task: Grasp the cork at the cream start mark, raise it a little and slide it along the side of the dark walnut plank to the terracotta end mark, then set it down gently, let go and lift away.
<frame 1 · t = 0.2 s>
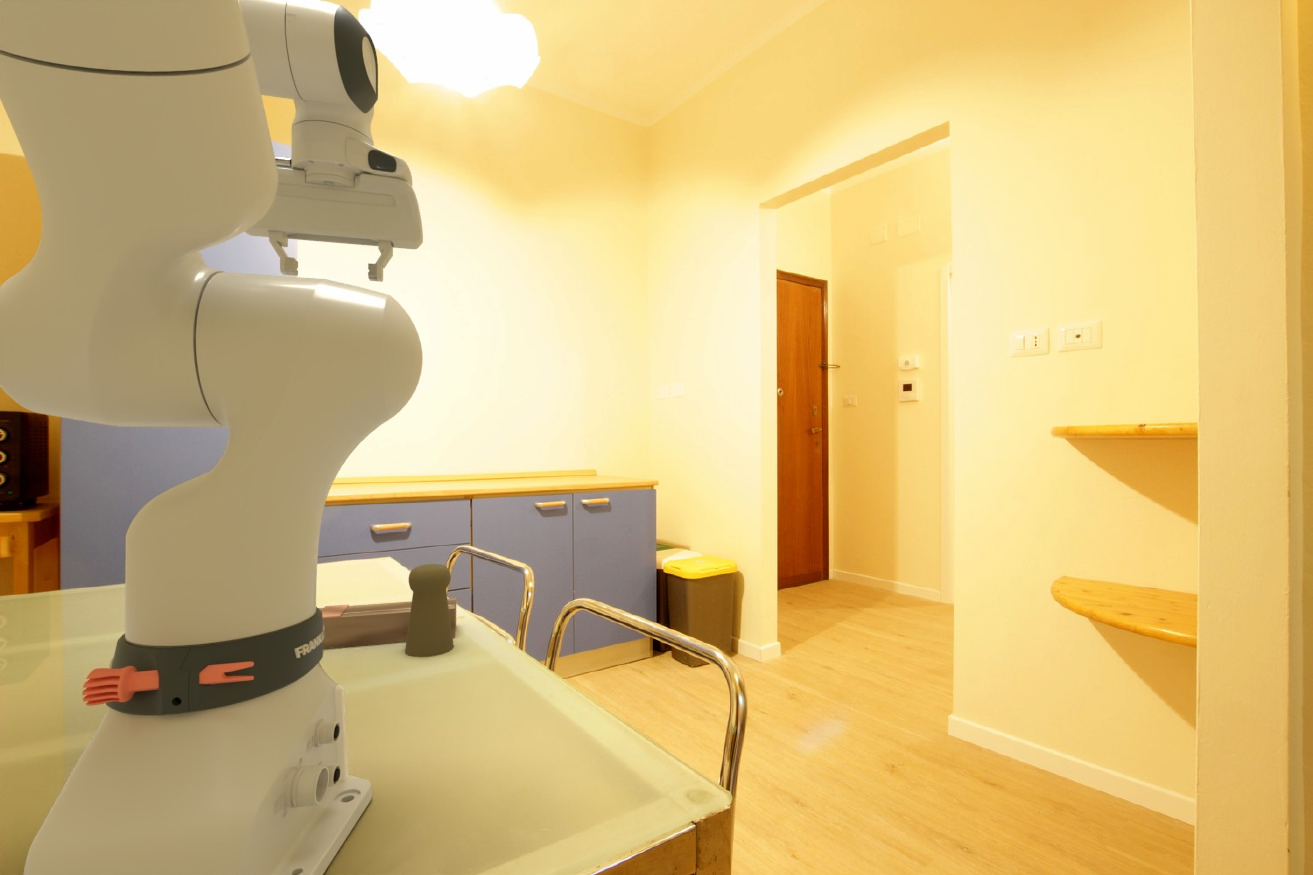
hand: (333, 277, 73), 47 cm above the table, fingers open, 8 cm apart
walnut plank: (380, 637, 84), on the table
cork: (429, 650, 79), on the table
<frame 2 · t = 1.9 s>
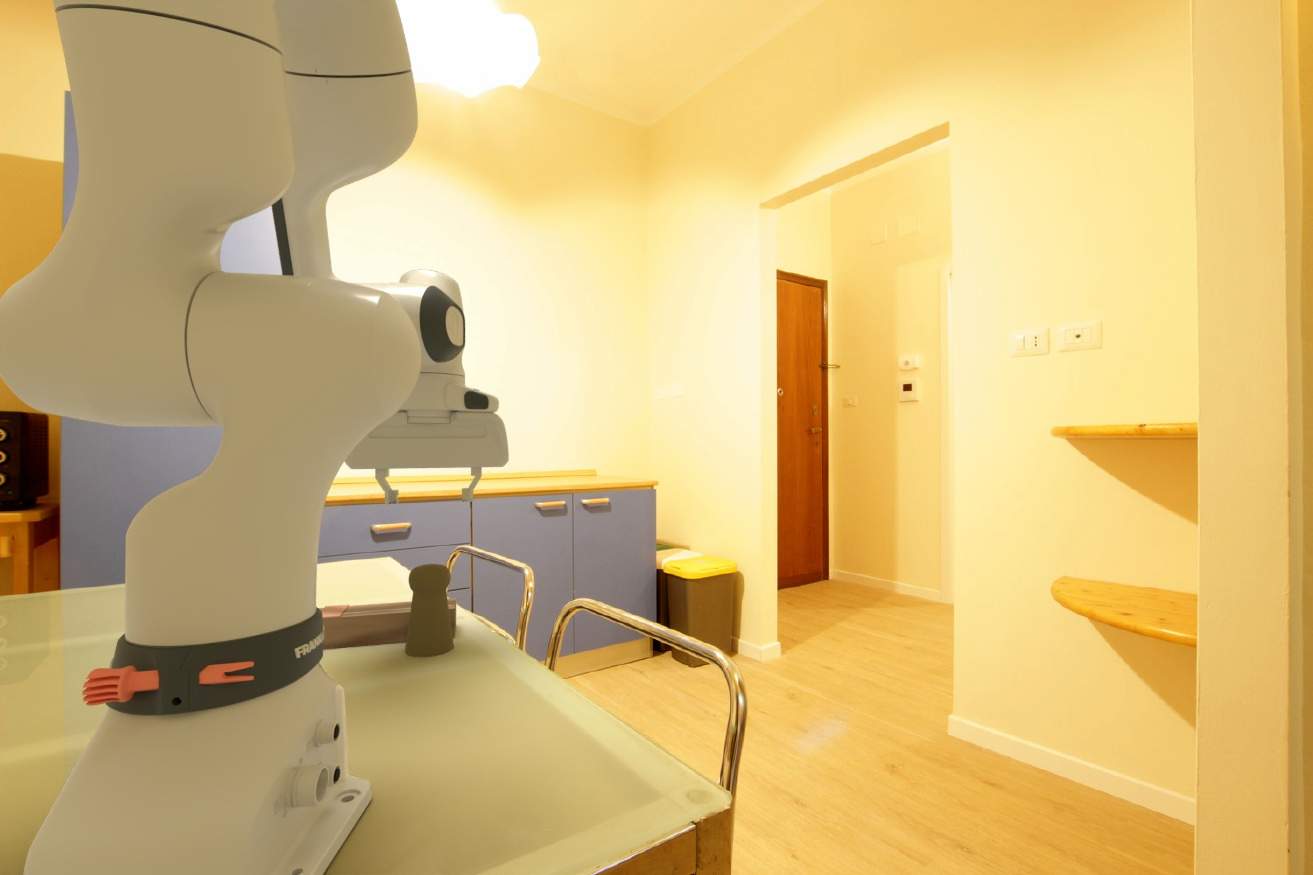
hand: (430, 502, 80), 19 cm above the table, fingers open, 8 cm apart
nothing on the table moved.
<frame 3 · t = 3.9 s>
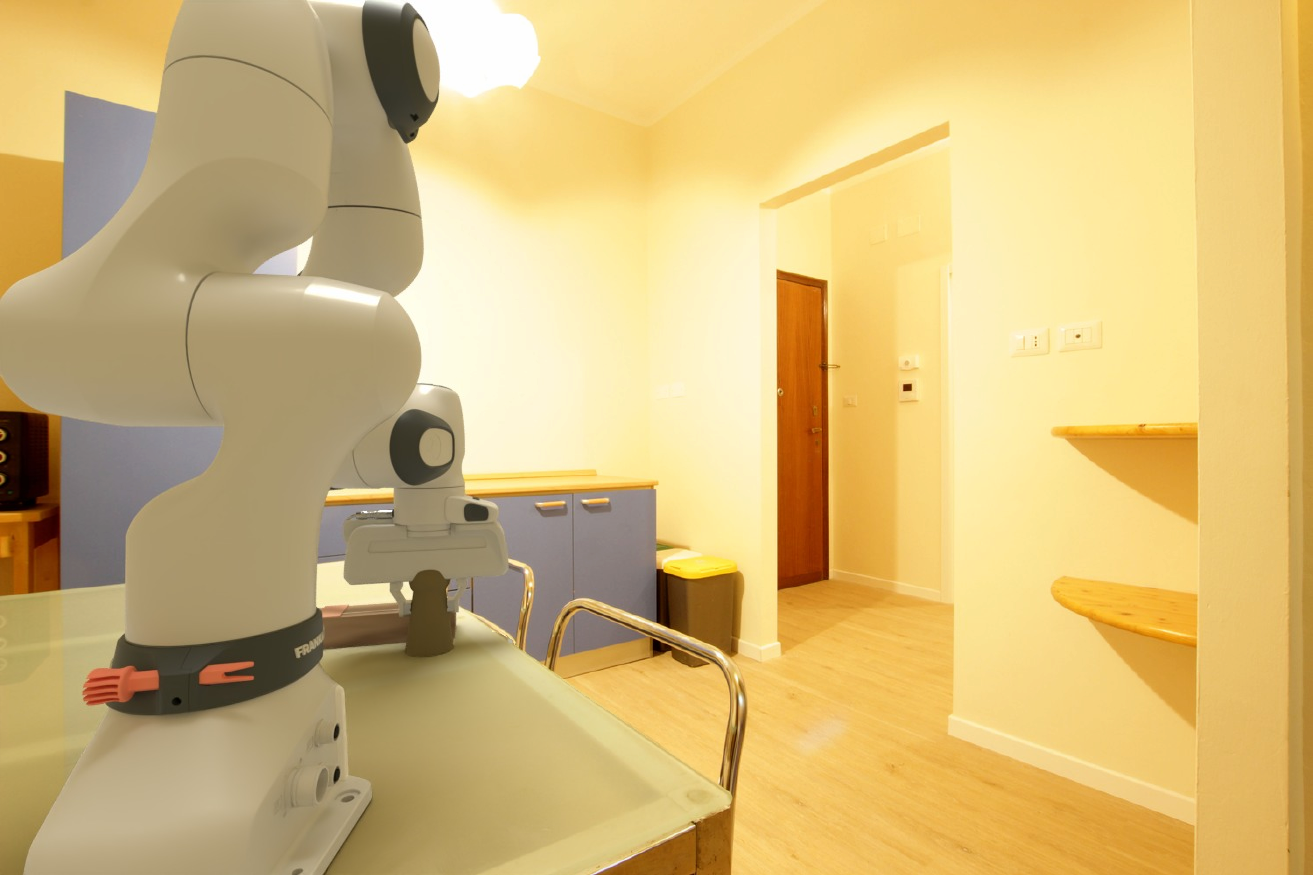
hand: (429, 613, 80), 5 cm above the table, fingers closed on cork, 4 cm apart
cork: (429, 650, 79), on the table, touching gripper
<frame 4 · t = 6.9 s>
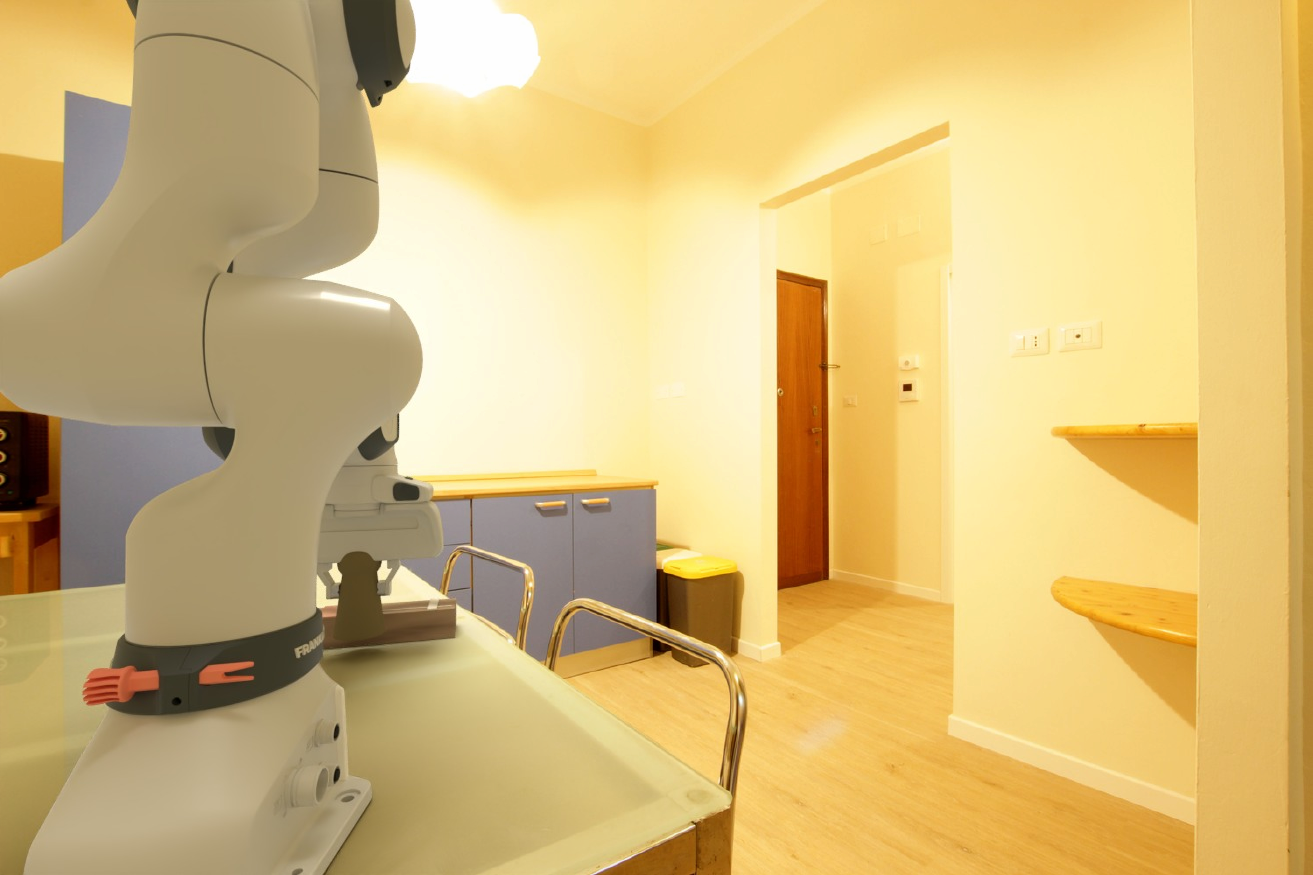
hand: (359, 596, 77), 7 cm above the table, fingers closed on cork, 4 cm apart
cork: (359, 634, 77), point 3 cm above the table, touching gripper
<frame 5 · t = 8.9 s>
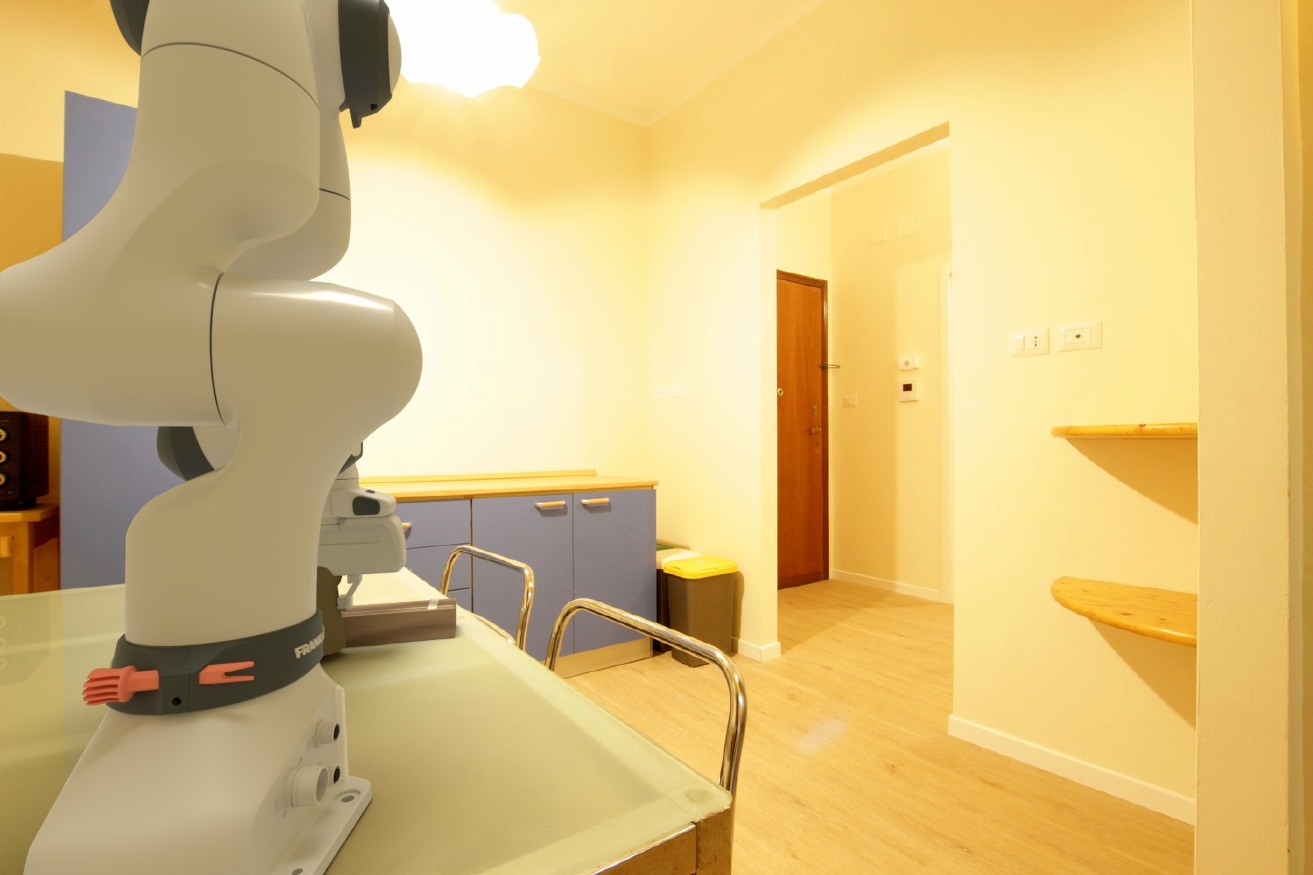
hand: (319, 611, 76), 6 cm above the table, fingers closed on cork, 4 cm apart
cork: (319, 650, 76), point 1 cm above the table, touching gripper
when the fingers open (5 cm above the table, at t = 10.4 s): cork stays where it is, on the table.
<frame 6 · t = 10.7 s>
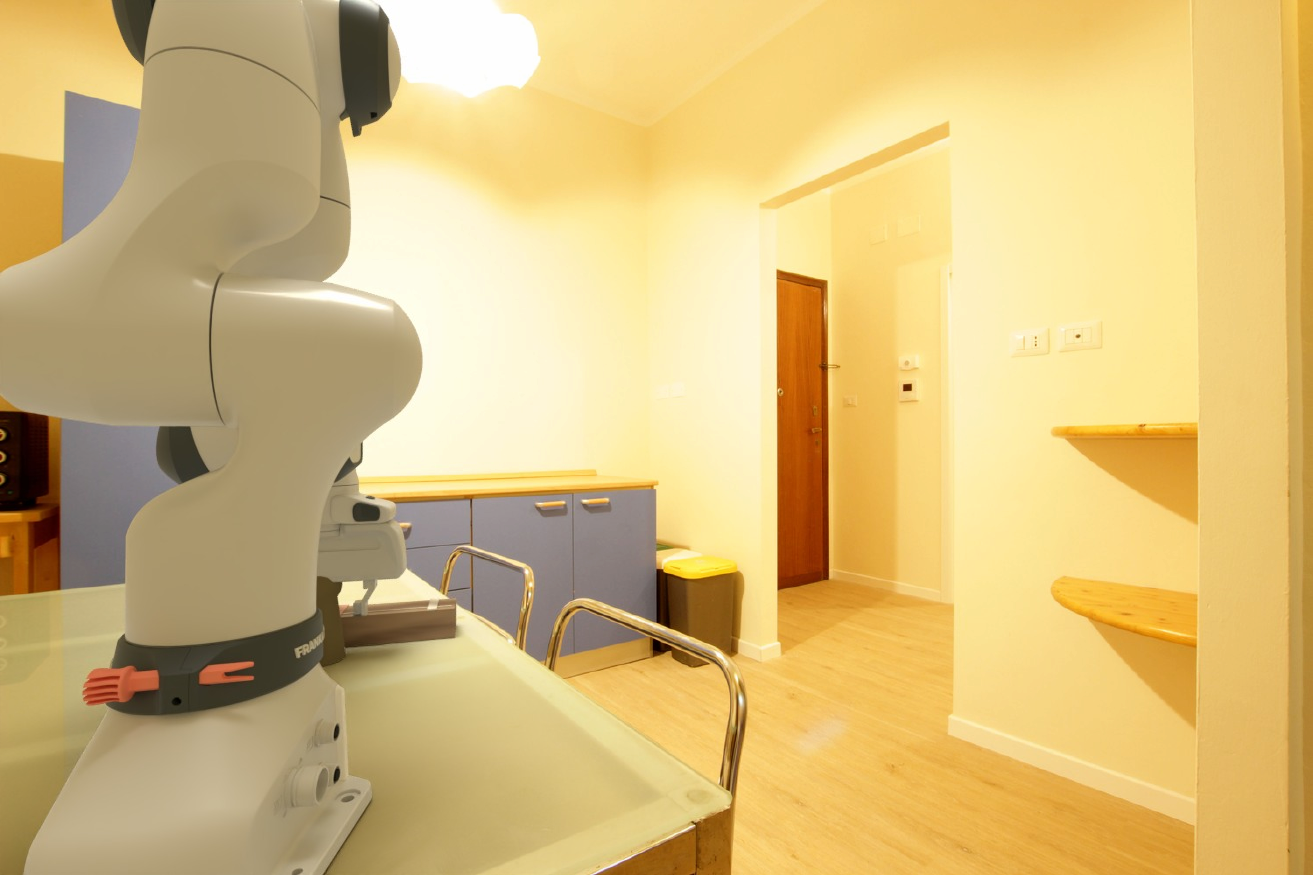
hand: (319, 618, 76), 5 cm above the table, fingers open, 8 cm apart
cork: (319, 660, 76), on the table
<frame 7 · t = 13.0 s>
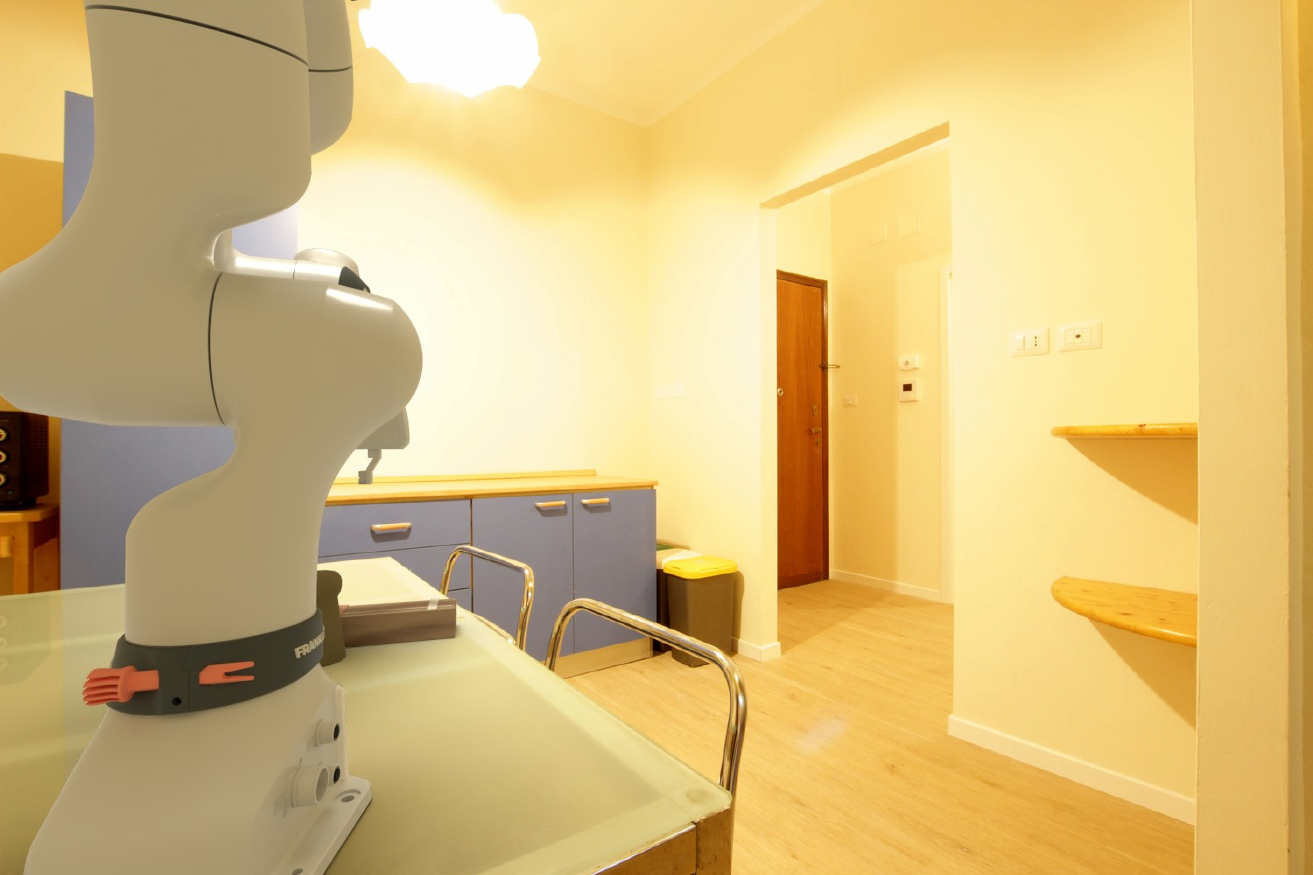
hand: (326, 485, 79), 22 cm above the table, fingers open, 8 cm apart
nothing on the table moved.
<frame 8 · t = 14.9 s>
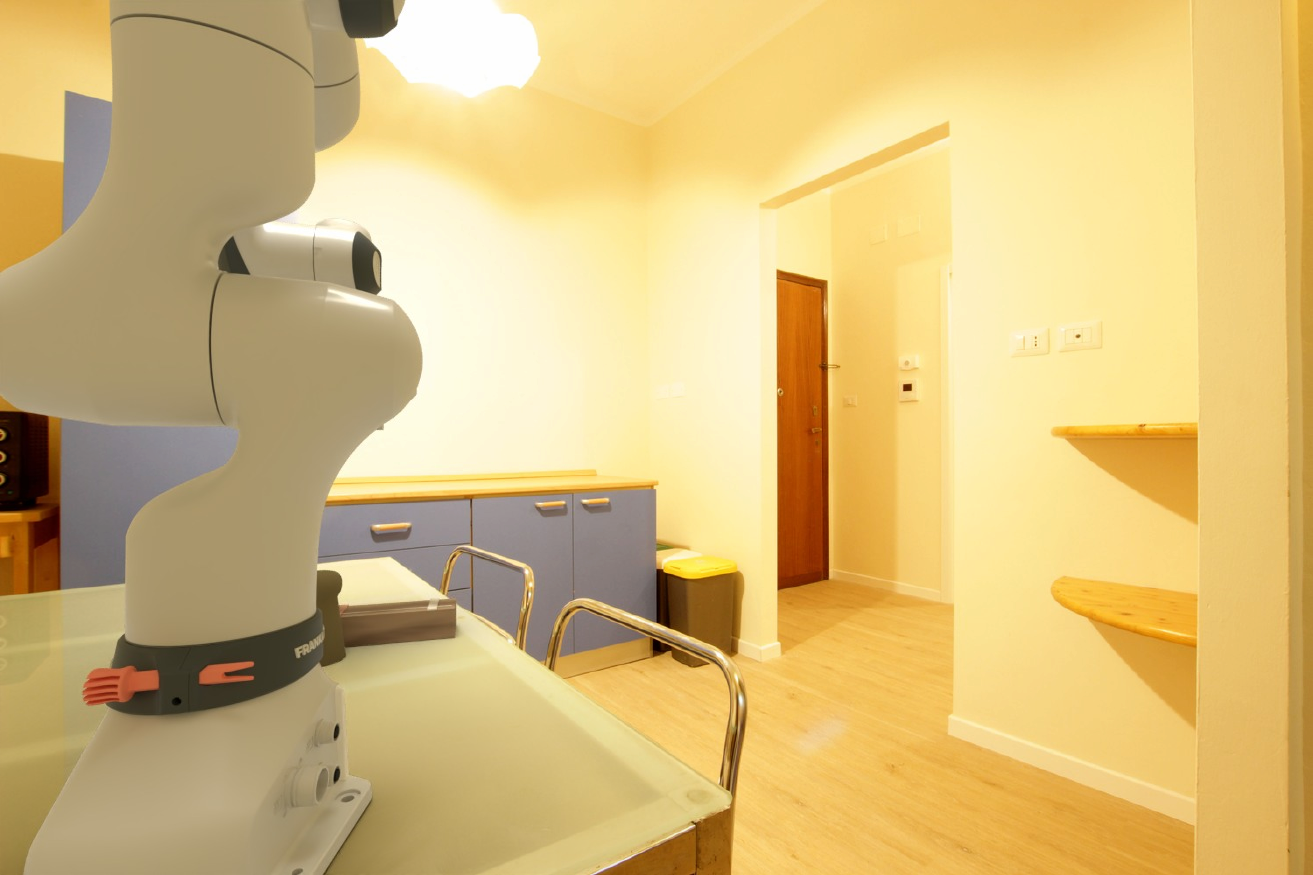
hand: (342, 429, 89), 29 cm above the table, fingers open, 8 cm apart
nothing on the table moved.
at the end: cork 0.4 cm from the target spot, on the table; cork tilted 0°; the gripper is holding nothing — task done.
